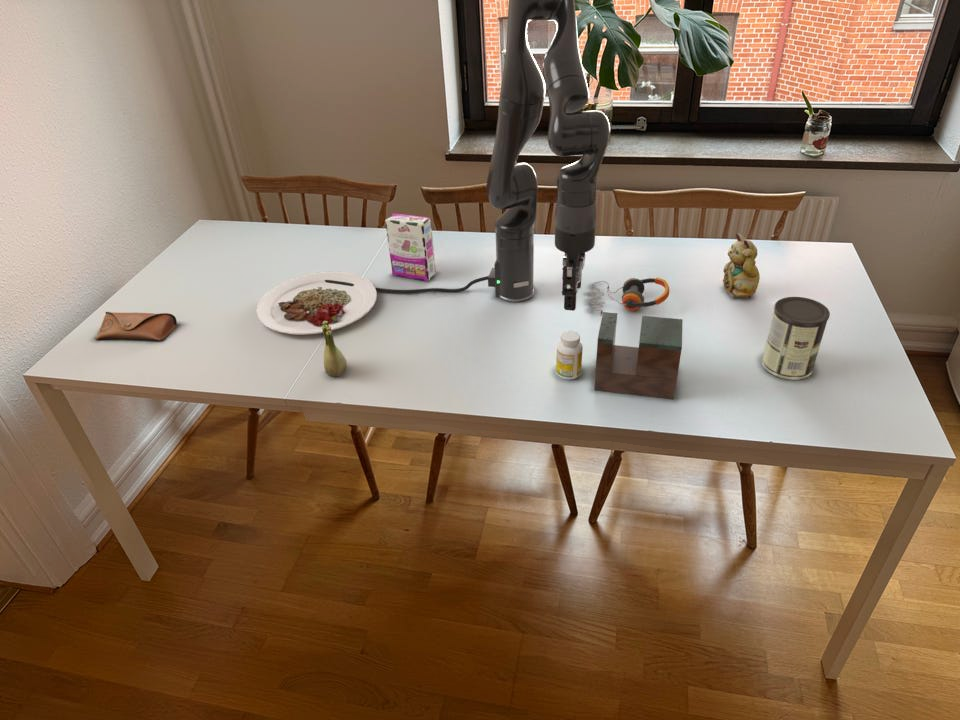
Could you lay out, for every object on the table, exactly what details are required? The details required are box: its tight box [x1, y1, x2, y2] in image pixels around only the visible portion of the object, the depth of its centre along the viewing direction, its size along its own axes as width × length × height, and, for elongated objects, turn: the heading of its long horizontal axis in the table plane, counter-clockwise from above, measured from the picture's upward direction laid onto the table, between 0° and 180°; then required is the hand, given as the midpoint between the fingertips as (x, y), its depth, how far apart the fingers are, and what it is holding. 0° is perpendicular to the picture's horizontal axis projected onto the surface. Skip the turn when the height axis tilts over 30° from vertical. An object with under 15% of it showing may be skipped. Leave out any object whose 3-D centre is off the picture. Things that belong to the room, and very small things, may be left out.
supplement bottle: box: [555, 330, 583, 380], centre depth 144 cm, size 5×5×10 cm
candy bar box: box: [384, 213, 437, 282], centre depth 181 cm, size 11×5×16 cm, turn 68°
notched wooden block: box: [593, 311, 683, 400], centre depth 140 cm, size 16×10×13 cm, turn 76°
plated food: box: [256, 271, 378, 336], centre depth 173 cm, size 30×30×3 cm
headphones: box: [587, 277, 670, 317], centre depth 168 cm, size 17×5×20 cm
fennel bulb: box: [322, 321, 348, 377], centre depth 148 cm, size 6×5×12 cm
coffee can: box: [761, 296, 831, 381], centre depth 142 cm, size 10×10×14 cm
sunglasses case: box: [94, 311, 178, 341], centre depth 168 cm, size 18×7×7 cm
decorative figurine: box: [722, 232, 761, 299], centre depth 167 cm, size 10×8×15 cm
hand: (572, 298), depth 136 cm, fingers open, 8 cm apart
